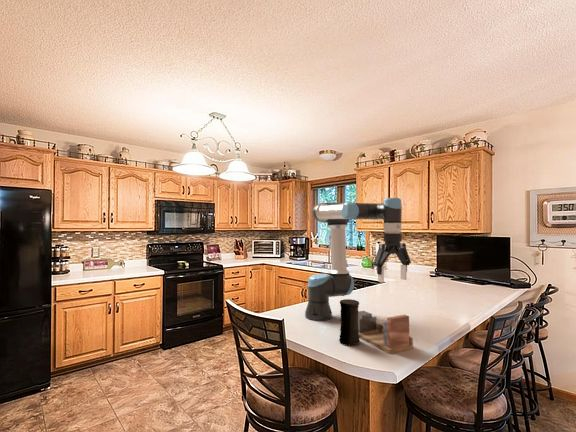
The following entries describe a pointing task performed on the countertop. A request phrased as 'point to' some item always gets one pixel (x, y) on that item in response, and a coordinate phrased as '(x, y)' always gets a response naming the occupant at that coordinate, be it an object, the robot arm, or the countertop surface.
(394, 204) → the robot arm
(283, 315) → the countertop surface
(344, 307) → the container
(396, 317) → the rack
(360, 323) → the bookend
